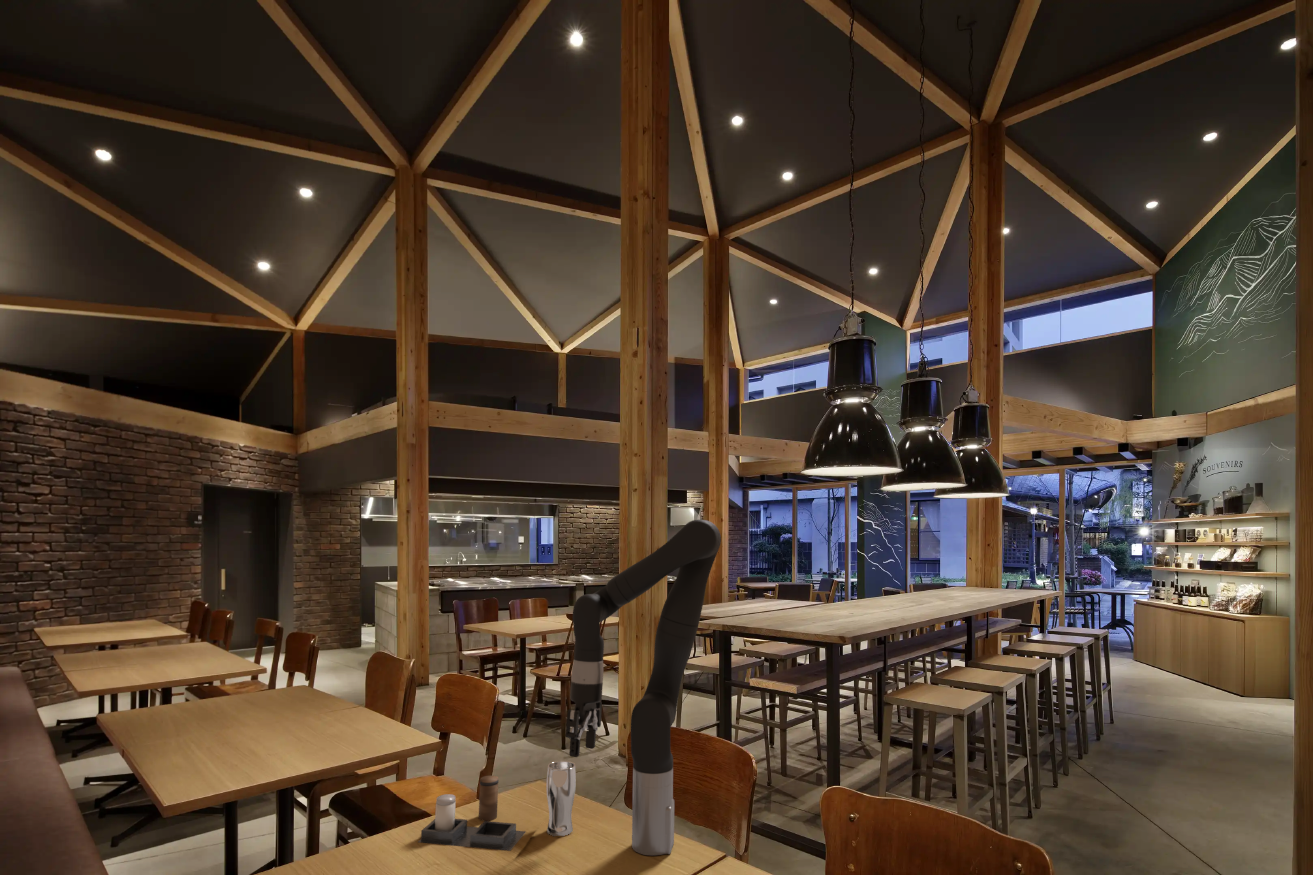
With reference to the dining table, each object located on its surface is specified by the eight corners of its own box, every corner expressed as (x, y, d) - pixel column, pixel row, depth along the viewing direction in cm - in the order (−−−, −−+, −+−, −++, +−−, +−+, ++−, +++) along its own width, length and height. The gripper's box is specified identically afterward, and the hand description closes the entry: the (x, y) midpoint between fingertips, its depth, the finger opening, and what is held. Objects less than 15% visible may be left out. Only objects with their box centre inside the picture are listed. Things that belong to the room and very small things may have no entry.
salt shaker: (457, 830, 164) (459, 794, 165) (448, 838, 160) (450, 801, 161) (439, 829, 165) (441, 793, 166) (430, 837, 161) (432, 800, 162)
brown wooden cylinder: (499, 818, 174) (501, 775, 175) (492, 825, 170) (494, 782, 171) (482, 816, 175) (484, 774, 176) (475, 824, 170) (476, 780, 172)
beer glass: (577, 825, 170) (578, 760, 172) (571, 838, 163) (572, 770, 165) (549, 824, 171) (551, 759, 173) (541, 836, 164) (543, 769, 166)
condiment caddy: (525, 835, 164) (526, 822, 165) (510, 855, 155) (510, 840, 155) (438, 828, 168) (438, 814, 168) (417, 846, 158) (418, 832, 159)
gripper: (588, 685, 159) (583, 761, 156) (613, 677, 172) (609, 747, 169) (559, 682, 161) (553, 757, 159) (585, 674, 175) (581, 743, 172)
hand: (582, 751), depth 164 cm, fingers open, 8 cm apart
